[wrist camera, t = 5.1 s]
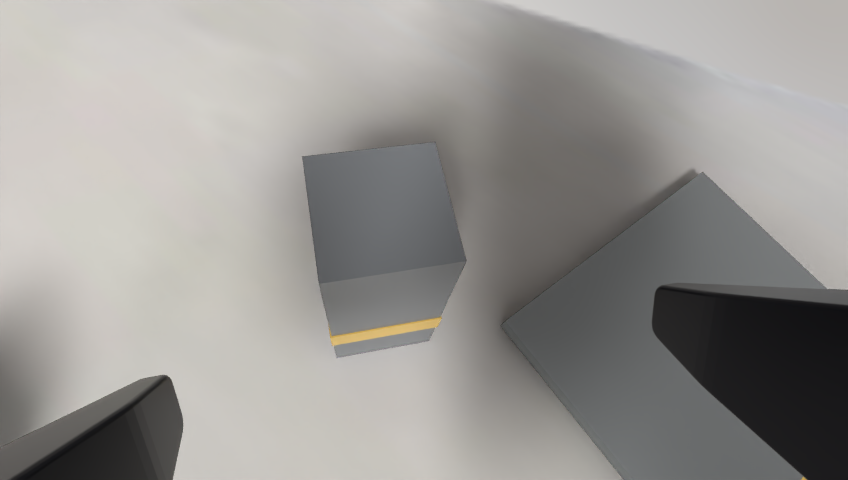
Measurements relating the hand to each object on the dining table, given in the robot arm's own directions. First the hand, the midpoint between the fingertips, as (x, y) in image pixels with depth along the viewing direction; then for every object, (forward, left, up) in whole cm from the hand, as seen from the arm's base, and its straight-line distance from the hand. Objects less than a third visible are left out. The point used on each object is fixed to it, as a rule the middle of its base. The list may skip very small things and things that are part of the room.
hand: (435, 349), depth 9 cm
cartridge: (+2, +5, -12) cm, 13 cm away
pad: (+13, -6, -12) cm, 19 cm away
